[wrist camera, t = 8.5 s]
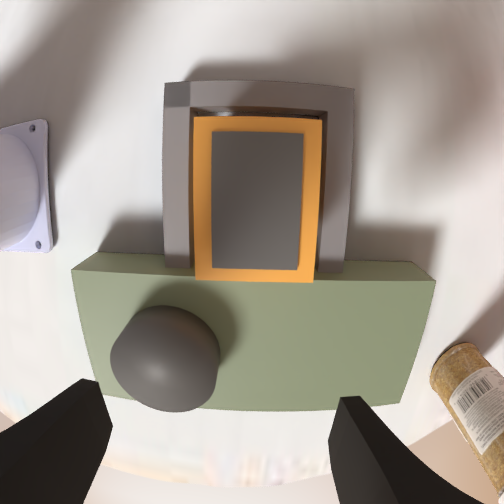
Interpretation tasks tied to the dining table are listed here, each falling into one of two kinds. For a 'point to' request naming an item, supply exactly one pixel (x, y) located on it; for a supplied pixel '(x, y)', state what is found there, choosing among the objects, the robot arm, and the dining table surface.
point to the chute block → (256, 198)
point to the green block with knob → (252, 289)
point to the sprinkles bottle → (474, 405)
